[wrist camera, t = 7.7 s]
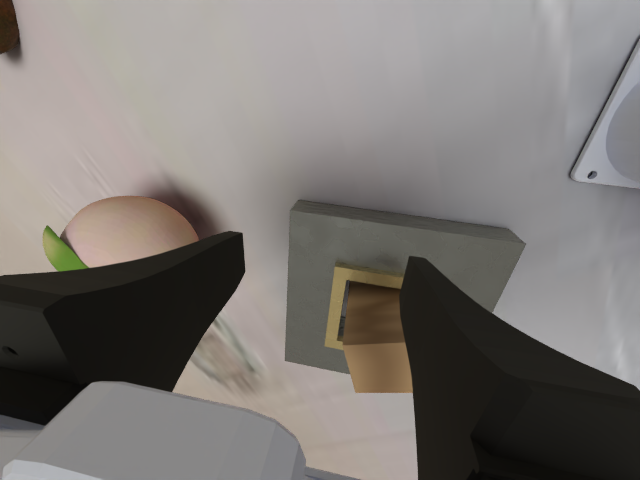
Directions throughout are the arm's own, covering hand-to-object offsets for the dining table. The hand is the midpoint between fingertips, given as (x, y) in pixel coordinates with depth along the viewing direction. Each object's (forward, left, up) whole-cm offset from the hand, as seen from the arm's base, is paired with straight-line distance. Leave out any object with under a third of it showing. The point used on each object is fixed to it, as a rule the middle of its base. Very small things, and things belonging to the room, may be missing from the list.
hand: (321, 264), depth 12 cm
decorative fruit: (+14, +5, -11) cm, 19 cm away
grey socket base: (-5, +9, -10) cm, 14 cm away
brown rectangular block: (-5, +9, -10) cm, 14 cm away
